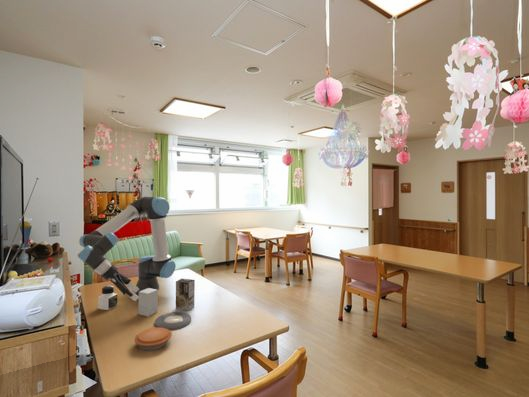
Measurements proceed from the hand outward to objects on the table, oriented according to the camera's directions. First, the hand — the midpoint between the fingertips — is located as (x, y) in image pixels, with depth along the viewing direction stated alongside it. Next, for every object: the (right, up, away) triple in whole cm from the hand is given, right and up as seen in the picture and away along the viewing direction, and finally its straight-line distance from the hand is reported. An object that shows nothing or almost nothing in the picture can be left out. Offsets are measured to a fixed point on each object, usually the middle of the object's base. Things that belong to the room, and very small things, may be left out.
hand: (137, 294), depth 156 cm
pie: (+20, -12, -29) cm, 37 cm away
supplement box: (+5, -11, +3) cm, 13 cm away
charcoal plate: (+22, -12, -7) cm, 26 cm away
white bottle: (-21, -11, +10) cm, 26 cm away
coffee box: (+23, -12, +11) cm, 28 cm away
